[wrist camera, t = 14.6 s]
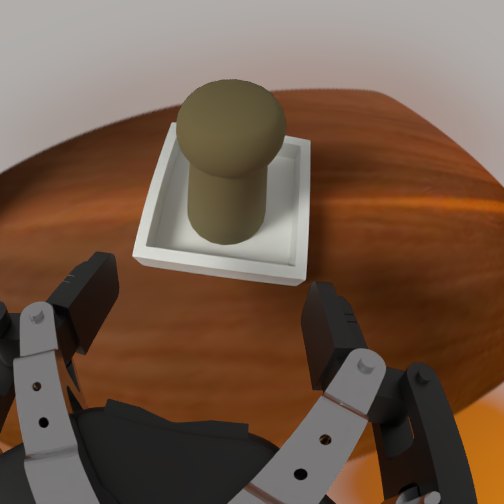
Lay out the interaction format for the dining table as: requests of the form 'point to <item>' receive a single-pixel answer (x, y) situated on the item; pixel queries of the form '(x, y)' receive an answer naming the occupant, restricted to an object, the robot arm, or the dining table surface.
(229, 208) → the cork
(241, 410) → the dining table surface
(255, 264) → the keeper tray
